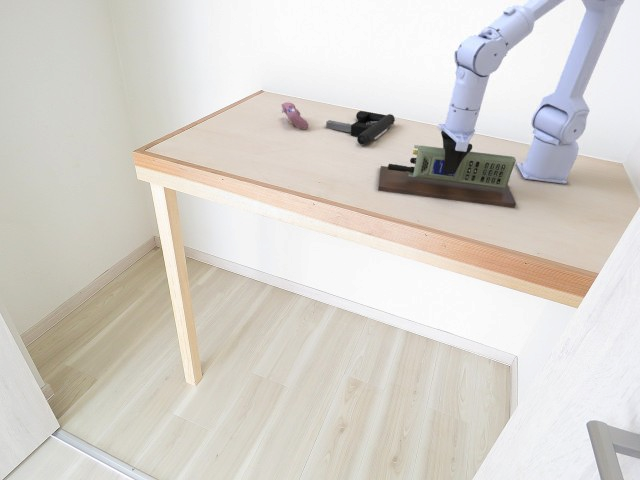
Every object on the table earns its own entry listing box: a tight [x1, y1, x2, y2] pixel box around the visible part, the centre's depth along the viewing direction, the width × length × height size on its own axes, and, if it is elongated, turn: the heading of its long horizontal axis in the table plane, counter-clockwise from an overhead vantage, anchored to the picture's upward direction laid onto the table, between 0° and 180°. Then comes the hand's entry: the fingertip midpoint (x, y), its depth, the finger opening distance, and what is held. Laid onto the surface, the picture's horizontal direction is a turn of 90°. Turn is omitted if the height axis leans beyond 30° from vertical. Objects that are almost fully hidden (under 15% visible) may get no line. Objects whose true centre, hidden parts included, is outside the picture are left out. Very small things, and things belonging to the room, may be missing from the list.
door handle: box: [325, 110, 396, 146], centre depth 114 cm, size 3×20×16 cm
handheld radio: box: [387, 144, 517, 189], centre depth 88 cm, size 7×3×25 cm
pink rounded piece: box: [280, 100, 309, 130], centre depth 115 cm, size 10×5×7 cm, turn 17°
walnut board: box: [377, 165, 517, 209], centre depth 90 cm, size 28×10×1 cm, turn 81°
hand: (448, 169), depth 88 cm, fingers closed on handheld radio, 3 cm apart
